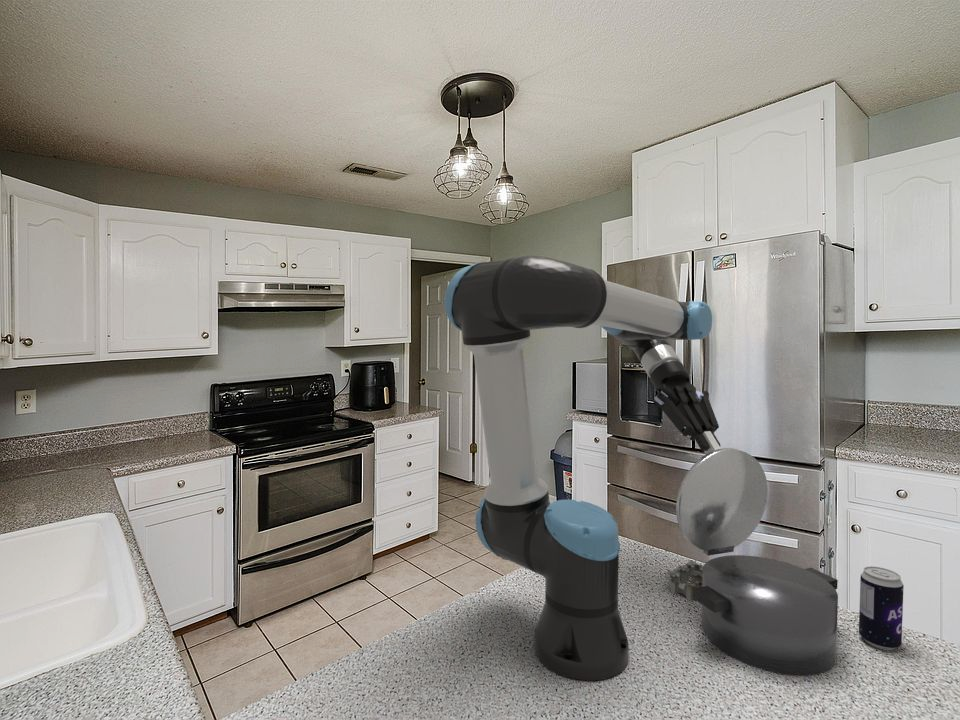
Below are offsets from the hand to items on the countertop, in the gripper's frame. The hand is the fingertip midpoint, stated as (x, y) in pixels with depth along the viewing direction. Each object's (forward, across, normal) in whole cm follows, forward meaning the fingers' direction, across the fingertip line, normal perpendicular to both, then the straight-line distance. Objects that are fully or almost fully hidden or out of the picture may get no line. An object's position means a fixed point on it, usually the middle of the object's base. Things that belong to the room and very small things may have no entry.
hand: (720, 463), depth 98 cm
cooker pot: (+27, 0, -11) cm, 30 cm away
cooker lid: (+6, 0, -4) cm, 7 cm away
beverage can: (+33, -16, -6) cm, 37 cm away
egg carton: (+15, 0, -24) cm, 29 cm away
